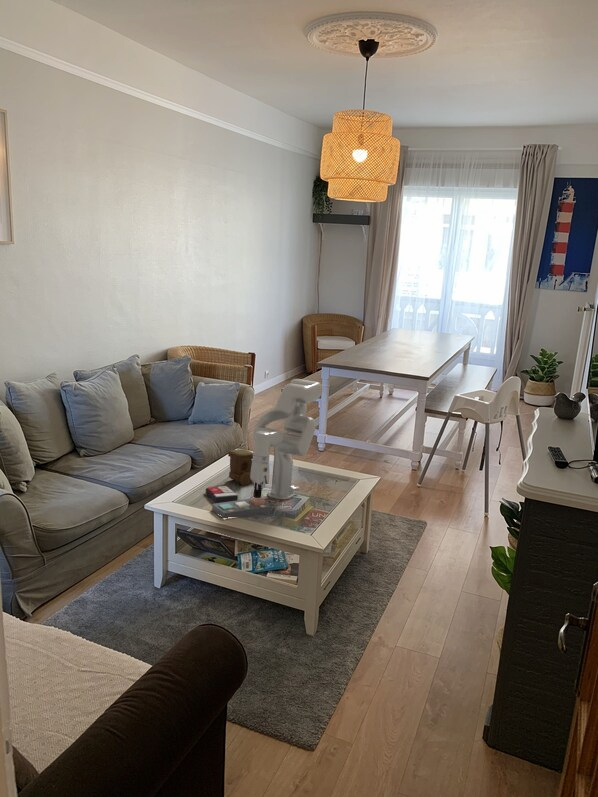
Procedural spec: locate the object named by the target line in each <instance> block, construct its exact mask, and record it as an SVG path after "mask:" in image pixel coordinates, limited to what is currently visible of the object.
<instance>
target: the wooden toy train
mask: <svg viewBox="0 0 598 797" xmlns="http://www.w3.org/2000/svg"><path fill="white" fill-rule="evenodd" d="M227 455H228V457H229V472H228V473H229V474H228V478H230V479H231V480H232V479H233V480H232V481H235V482H236V483H237V482H239V484H240V485H242V486H247V485H249V484H250V483H251V482H252V480H251V478H250V473H251V466H252V459H253V451H251V450H248V449H245V448H238V449H231V450H228V452H227Z"/></svg>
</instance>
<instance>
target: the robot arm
mask: <svg viewBox="0 0 598 797" xmlns="http://www.w3.org/2000/svg"><path fill="white" fill-rule="evenodd" d="M322 394H323V385H322V384H321V383H320V382H319V381H314V380H307V379H302V378H294V379H293V378H292V380H290V382H289V383H286V384H285V385H284V386H283V389H281V393H280V395H279V397H278V399H277V401H276V403H275V405H274V407H273V408H271V409H270V410H268V411H266V412H265V413H264V414H263V415H261V416H260V417H259V419H258V420H257V423H256V425H255V427H254V430H253V433H252V438H253V448H252V449H253V450H252V453H253V459H252V466H251V473H250V478H251V482H252V483H253V498H262V492H263V488H266V485H268V484H269V483H270V454H271V452H270V451H271V447H273V467H272V480H271V489H269V490H268V492H267V495H268V496H269V497H270V498H272V499H275V500H290V499H293V498H294V491H295V492H296V491H300V487H299V486H295V485H292V480H293V479H292V478H293V468H294V460H293V457H292V456H297V457H303V456H305V455H306V454H307V453H308V451H309V448H310V446H311V442H312V440H313V437H314V435H315V431H316V426H317V423H316V420H315V419H314V418H313V417H310V416H306V414H307V411H308V407H307V405H308V404H310V403H312V402H314V401H316V400H318V399H320V397H321V396H322ZM280 420H284V422H283V429H284V431H285V432H282V431H281V430H278V429H274V428H269V427H267V426H268V425H271V423H273V422H275V421H280Z"/></svg>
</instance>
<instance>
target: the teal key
mask: <svg viewBox="0 0 598 797" xmlns="http://www.w3.org/2000/svg"><path fill="white" fill-rule="evenodd" d="M219 508H221V509H222V510H223V511H224V510H231V509H234V507H233V506H232V505H230V504H222V505H219Z"/></svg>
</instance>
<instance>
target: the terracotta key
mask: <svg viewBox="0 0 598 797" xmlns="http://www.w3.org/2000/svg"><path fill="white" fill-rule="evenodd" d="M249 499H250V503H252V504H253V505H254V506H258V505H265V502H266V500H265V499H263V498H262V497H260V498H255V497H253V498H252V497H251V498H249Z"/></svg>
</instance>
